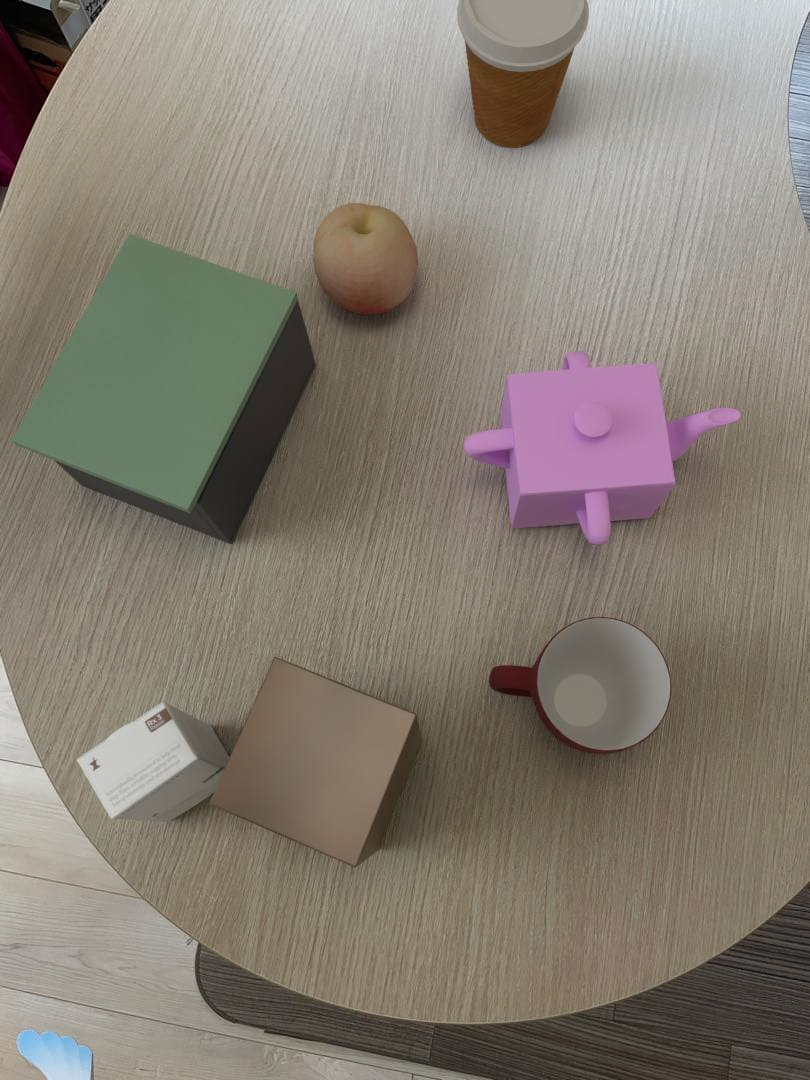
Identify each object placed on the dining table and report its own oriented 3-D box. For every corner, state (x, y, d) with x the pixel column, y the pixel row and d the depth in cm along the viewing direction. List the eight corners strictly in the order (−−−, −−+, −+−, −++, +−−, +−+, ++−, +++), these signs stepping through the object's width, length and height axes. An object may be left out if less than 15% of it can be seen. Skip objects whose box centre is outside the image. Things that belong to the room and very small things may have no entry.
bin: (232, 544, 70) (199, 504, 60) (81, 485, 71) (26, 436, 62) (316, 364, 73) (298, 299, 64) (171, 312, 75) (132, 241, 65)
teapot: (690, 382, 72) (730, 316, 62) (719, 559, 68) (766, 518, 58) (454, 400, 72) (456, 338, 62) (470, 578, 68) (475, 540, 58)
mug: (485, 758, 65) (493, 750, 55) (485, 641, 67) (493, 614, 57) (640, 761, 64) (676, 754, 55) (635, 644, 67) (668, 616, 57)
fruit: (423, 245, 76) (422, 182, 68) (414, 336, 74) (411, 281, 66) (325, 239, 76) (312, 175, 68) (312, 328, 74) (298, 273, 66)
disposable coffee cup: (439, 86, 80) (440, -35, 68) (546, 56, 80) (564, -70, 69) (475, 178, 77) (482, 68, 66) (585, 146, 78) (611, 31, 66)
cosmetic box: (168, 824, 64) (108, 829, 53) (135, 769, 65) (69, 761, 54) (244, 771, 65) (202, 764, 53) (210, 717, 66) (161, 698, 54)
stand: (270, 804, 64) (208, 804, 47) (317, 694, 66) (274, 655, 49) (378, 850, 63) (356, 868, 46) (422, 738, 65) (417, 714, 48)
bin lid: (191, 514, 59) (187, 509, 58) (16, 445, 61) (10, 440, 60) (298, 299, 64) (296, 292, 63) (132, 240, 65) (128, 233, 65)
